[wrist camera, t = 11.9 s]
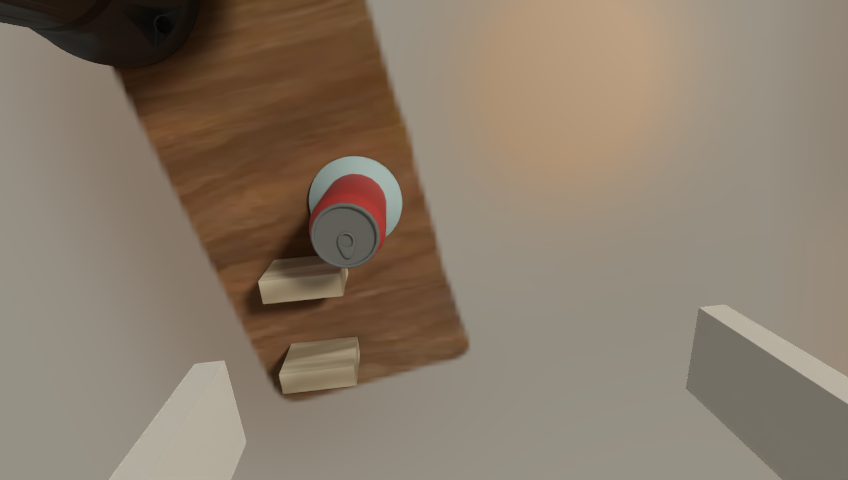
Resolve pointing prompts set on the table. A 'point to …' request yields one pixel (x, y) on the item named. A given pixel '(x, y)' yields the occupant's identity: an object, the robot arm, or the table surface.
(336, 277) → the block
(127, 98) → the table surface
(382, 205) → the beer can
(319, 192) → the coaster
